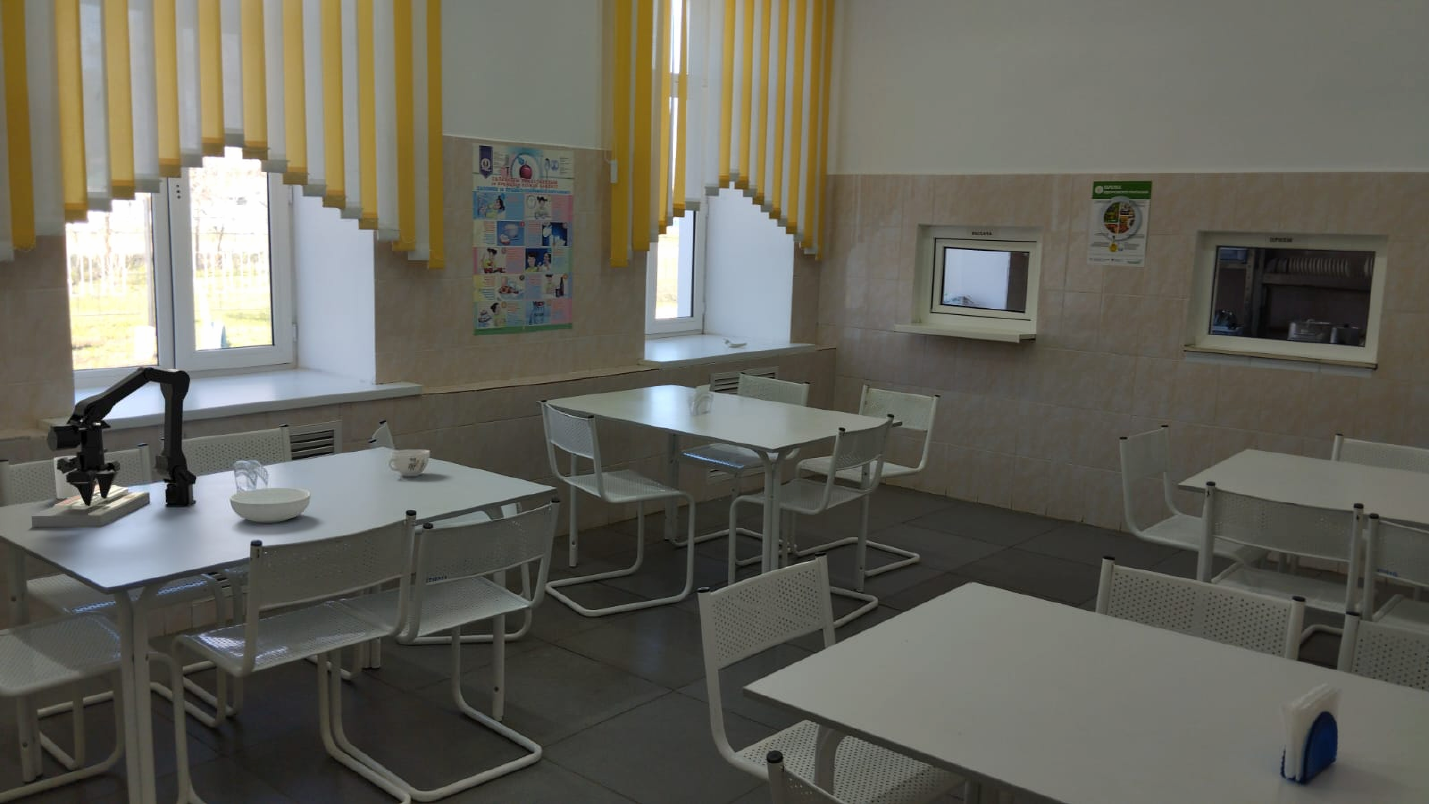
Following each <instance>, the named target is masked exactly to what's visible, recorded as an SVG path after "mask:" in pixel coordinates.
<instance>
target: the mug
mask: <svg viewBox="0 0 1429 804" xmlns="http://www.w3.org/2000/svg"><path fill="white" fill-rule="evenodd" d="M64 457H66V458H67V459H72V458H75V457H76V455H65V456H57V457H54V458H53V466H54V467H53V468H54V478H55V479H54V480H55V488H56V489H55V491H56V498H57V499H59V500H65V499H64V498H68V497H74V496H78V495H80V492H79V491H78V489H77V488H76V487H75V486H73V485H70V484H69V483H67V482H66V475H67V474H68V473H69V472H67V473H65V474H62V472H61V471H60V470H58V469H57V461H58V460H59V459H62V458H64ZM75 470H76V469H75ZM73 471H74V470H73ZM70 472H71V471H70Z"/></svg>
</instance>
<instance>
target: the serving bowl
mask: <svg viewBox="0 0 1429 804" xmlns="http://www.w3.org/2000/svg"><path fill="white" fill-rule="evenodd" d="M229 502H230V505H231V508H232V510H233V512H234V513H236V515H237V516H239V518H242V519H245V520H248V521H251V522H252V521H253V522H256V523H262V524H263V523H264V524H268V523H269V524H270V523H279V522H283V521H287V520H289V519H293V518H295V517H297V516H300V515H301V514H302V513H304V512H305V511H306V509H307V508H308V507H309V505H310V502H311V492H309V491H308V490H306V489H301V488H294V487H292V488H291V487H269V488H268V487H266V488H257V489H256V488H255V489H249V490H245V491H241V492H238V493H234V494H232V495H230V497H229Z"/></svg>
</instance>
